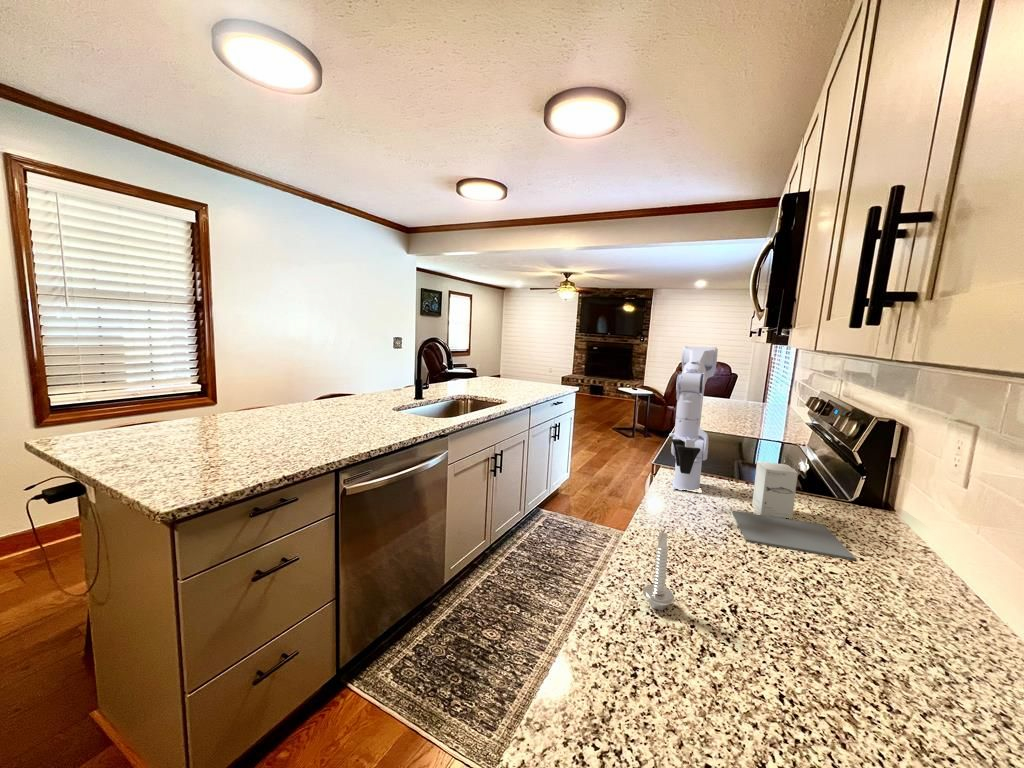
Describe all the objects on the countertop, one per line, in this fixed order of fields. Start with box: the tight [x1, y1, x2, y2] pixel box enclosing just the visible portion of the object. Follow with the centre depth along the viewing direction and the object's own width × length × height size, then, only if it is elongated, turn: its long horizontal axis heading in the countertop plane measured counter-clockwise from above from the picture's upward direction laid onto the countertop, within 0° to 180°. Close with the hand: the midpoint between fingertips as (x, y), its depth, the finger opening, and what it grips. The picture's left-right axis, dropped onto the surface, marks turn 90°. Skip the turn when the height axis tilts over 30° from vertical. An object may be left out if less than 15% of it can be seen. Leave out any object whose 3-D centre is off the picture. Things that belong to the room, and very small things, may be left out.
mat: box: [731, 510, 856, 561], centre depth 92 cm, size 16×20×1 cm
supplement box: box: [752, 460, 799, 520], centre depth 103 cm, size 7×7×13 cm
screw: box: [642, 531, 675, 611], centre depth 65 cm, size 13×5×5 cm
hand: (682, 469), depth 104 cm, fingers open, 7 cm apart
